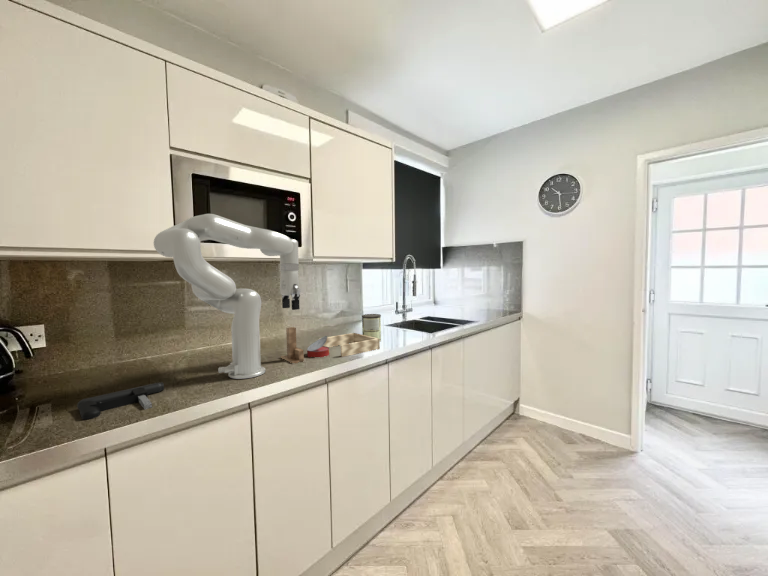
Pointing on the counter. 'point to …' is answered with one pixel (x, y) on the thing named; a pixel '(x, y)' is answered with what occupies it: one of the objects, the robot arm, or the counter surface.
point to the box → (353, 343)
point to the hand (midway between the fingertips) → (290, 308)
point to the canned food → (318, 348)
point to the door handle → (118, 400)
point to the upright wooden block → (293, 347)
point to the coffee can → (371, 325)
